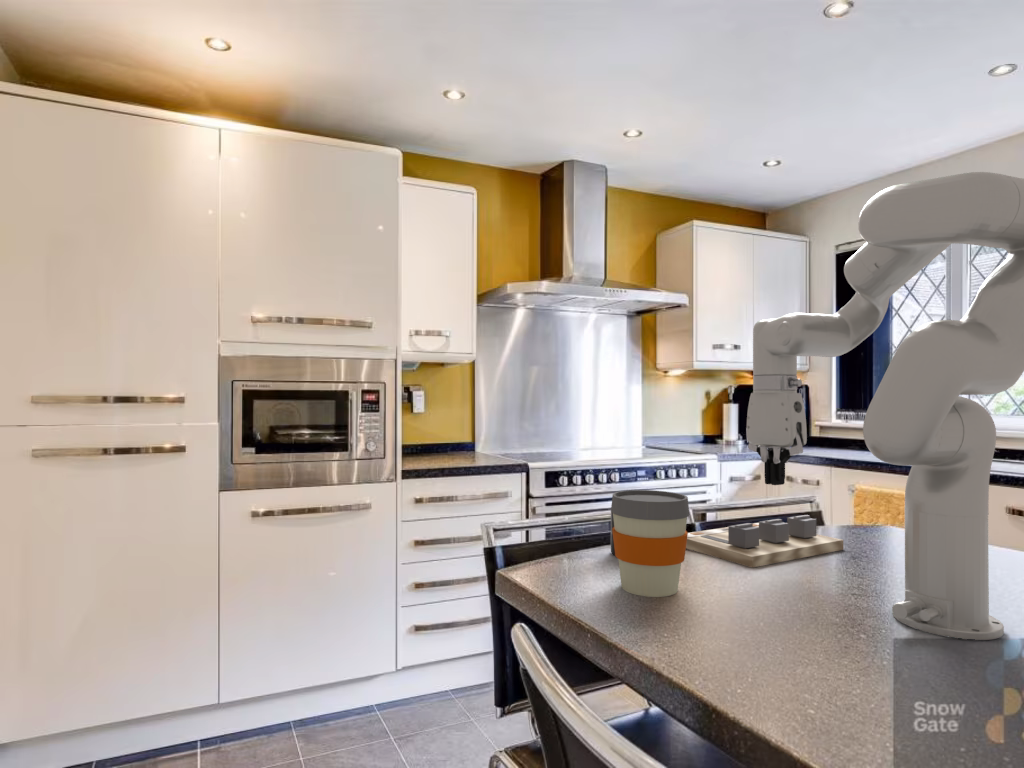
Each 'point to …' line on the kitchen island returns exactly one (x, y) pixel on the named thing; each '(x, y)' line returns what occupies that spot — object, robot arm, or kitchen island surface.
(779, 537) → the switch tab
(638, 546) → the reusable coffee cup
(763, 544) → the switch panel
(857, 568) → the kitchen island surface
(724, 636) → the kitchen island surface
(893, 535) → the kitchen island surface
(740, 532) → the switch tab
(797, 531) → the switch tab
